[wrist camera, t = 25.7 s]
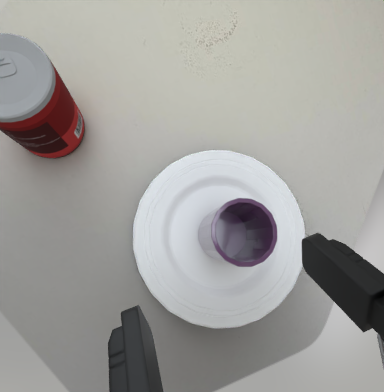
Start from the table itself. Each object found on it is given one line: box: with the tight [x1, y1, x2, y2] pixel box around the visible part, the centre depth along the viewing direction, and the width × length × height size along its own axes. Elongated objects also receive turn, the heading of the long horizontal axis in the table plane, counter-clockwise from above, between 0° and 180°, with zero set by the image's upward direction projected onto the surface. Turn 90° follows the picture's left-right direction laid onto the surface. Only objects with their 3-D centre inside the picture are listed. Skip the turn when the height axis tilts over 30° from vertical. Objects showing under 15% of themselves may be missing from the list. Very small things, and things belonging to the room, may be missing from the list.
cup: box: [198, 198, 277, 267], centre depth 28 cm, size 6×6×8 cm
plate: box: [133, 150, 305, 329], centre depth 33 cm, size 21×21×2 cm
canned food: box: [0, 33, 84, 158], centre depth 28 cm, size 8×8×11 cm
